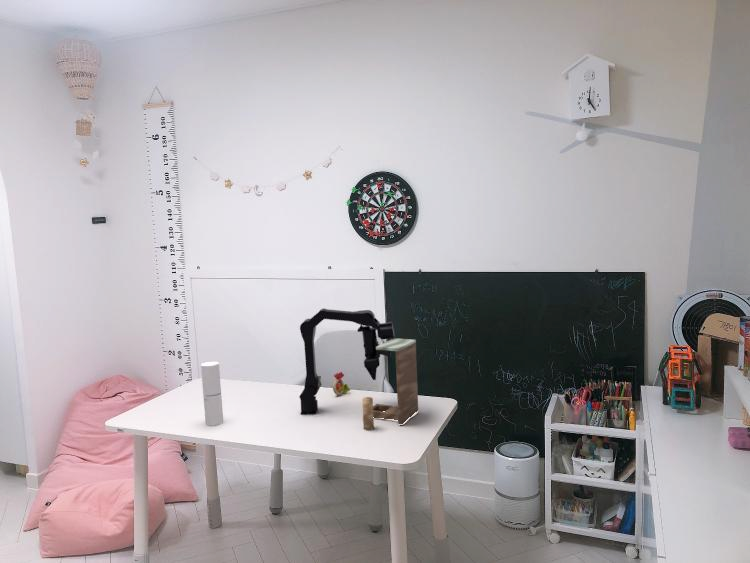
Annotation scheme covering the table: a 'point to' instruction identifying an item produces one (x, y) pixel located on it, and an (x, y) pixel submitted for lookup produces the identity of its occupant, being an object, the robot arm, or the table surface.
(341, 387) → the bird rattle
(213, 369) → the cylindrical container
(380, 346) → the socket stand
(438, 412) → the table surface
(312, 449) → the table surface
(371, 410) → the peg
